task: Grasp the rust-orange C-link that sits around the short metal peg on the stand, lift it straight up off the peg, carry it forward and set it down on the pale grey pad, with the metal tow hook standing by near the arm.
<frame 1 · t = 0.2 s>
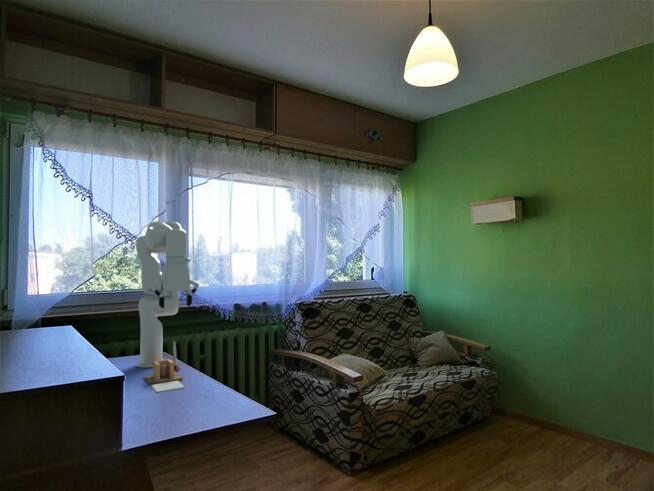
hand: (175, 306, 157), 30 cm above the table, tool pointing down, fingers open, 9 cm apart
c link: (163, 376, 168), point 1 cm above the table, touching stand
pad: (167, 386, 158), on the table
tow hook: (166, 372, 181), on the table
stand: (163, 379, 168), on the table
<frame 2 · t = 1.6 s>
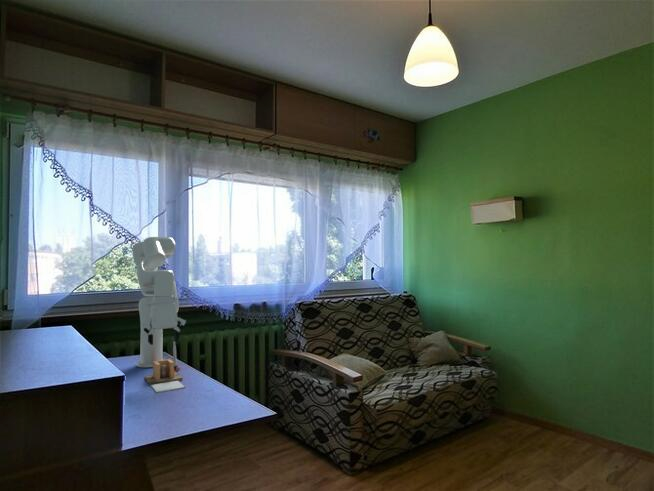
hand: (163, 342, 169), 15 cm above the table, tool pointing down, fingers open, 9 cm apart
nothing on the table moved.
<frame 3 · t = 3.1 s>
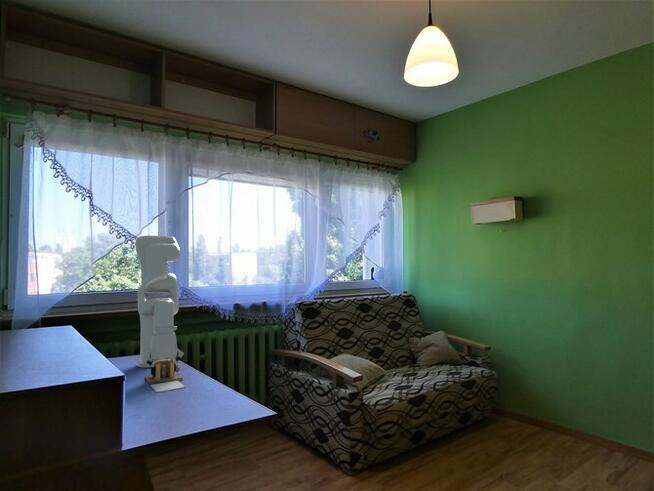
hand: (163, 374, 168), 2 cm above the table, tool pointing down, fingers closed on c link, 6 cm apart
c link: (163, 376, 168), point 1 cm above the table, touching gripper, stand
everything else where it was.
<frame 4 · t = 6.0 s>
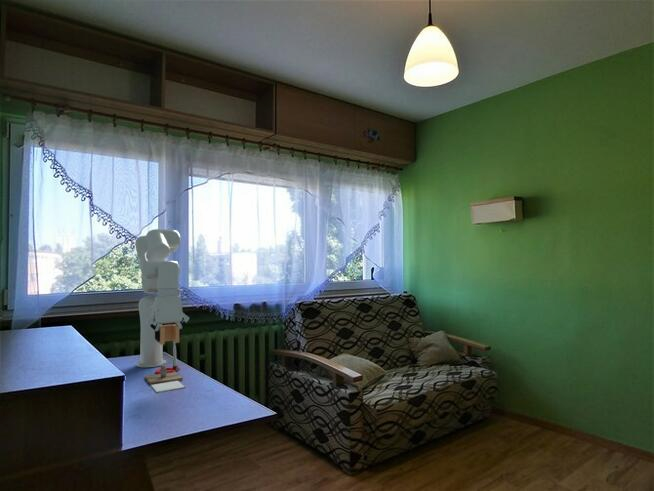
hand: (168, 339, 159), 18 cm above the table, tool pointing down, fingers closed on c link, 6 cm apart
c link: (168, 342, 159), point 17 cm above the table, touching gripper
everything else where it was.
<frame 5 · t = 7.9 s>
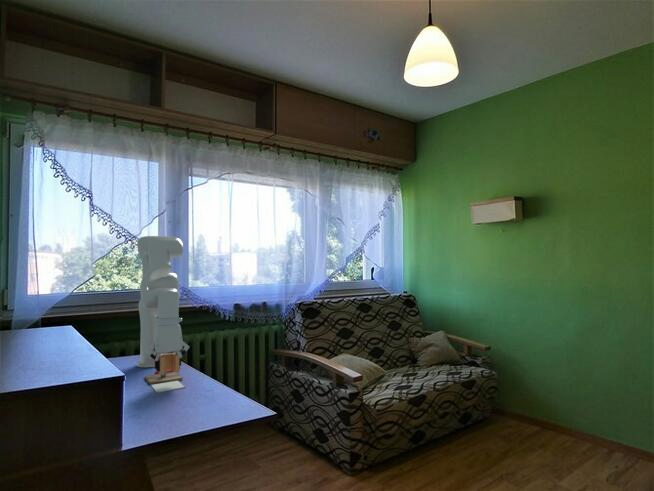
hand: (168, 369, 158), 7 cm above the table, tool pointing down, fingers closed on c link, 6 cm apart
c link: (168, 371, 158), point 6 cm above the table, touching gripper
everything else where it was.
when the fingers open (3 cm above the table, at t = 9.2 s): c link drops 2 cm, resting on pad.
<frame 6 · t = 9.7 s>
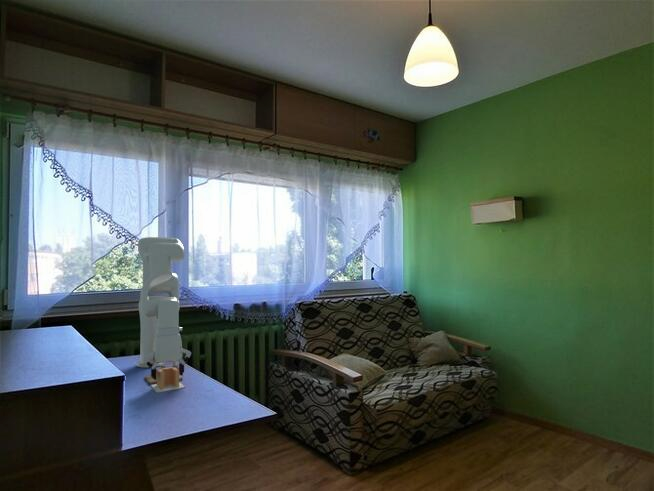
hand: (167, 376, 158), 4 cm above the table, tool pointing down, fingers open, 9 cm apart
c link: (167, 385, 158), resting on pad
everything else where it was.
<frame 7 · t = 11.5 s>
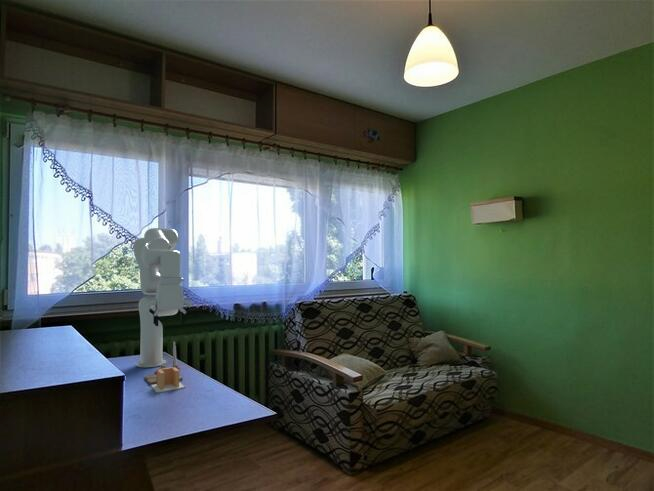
hand: (169, 324, 165), 23 cm above the table, tool pointing down, fingers open, 9 cm apart
nothing on the table moved.
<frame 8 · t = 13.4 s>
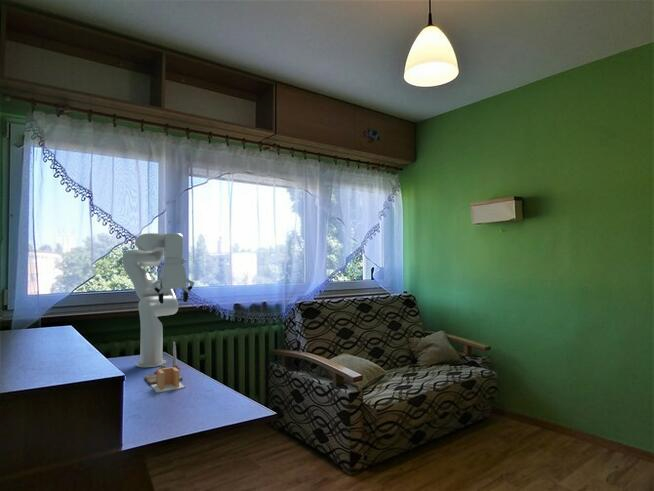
hand: (173, 302, 177), 30 cm above the table, tool pointing down, fingers open, 9 cm apart
nothing on the table moved.
at the end: c link inside the target area (0.2 cm from its centre), resting on pad; c link moved 12.1 cm from its start; the gripper is holding nothing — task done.
